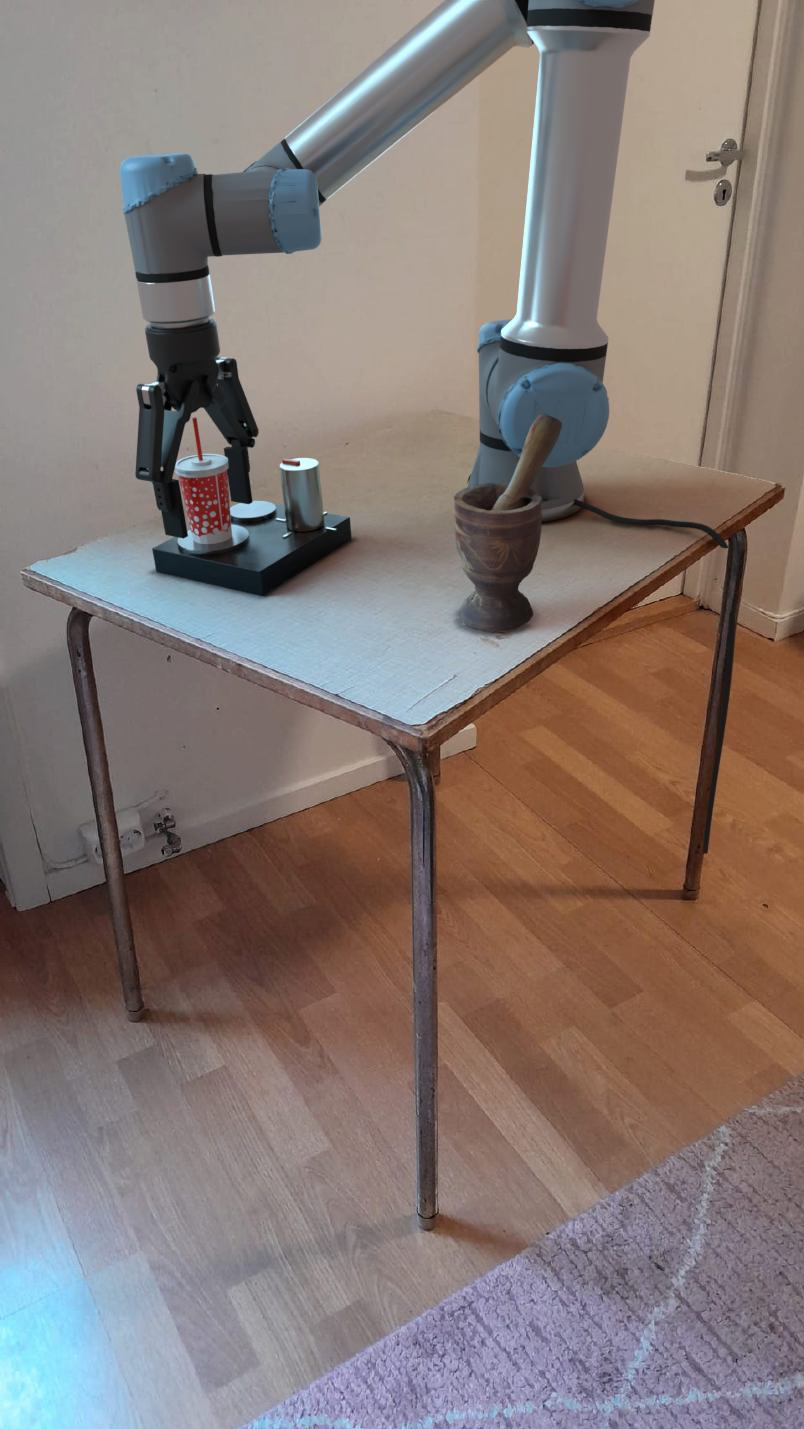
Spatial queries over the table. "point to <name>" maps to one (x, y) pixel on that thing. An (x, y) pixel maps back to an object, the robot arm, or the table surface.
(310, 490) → the knob
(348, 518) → the hob
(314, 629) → the table surface
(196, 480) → the beverage cup
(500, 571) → the mortar and pestle
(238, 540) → the hot plates
